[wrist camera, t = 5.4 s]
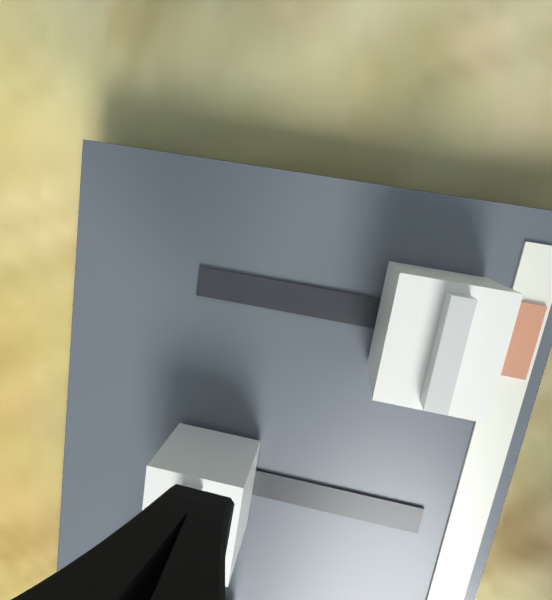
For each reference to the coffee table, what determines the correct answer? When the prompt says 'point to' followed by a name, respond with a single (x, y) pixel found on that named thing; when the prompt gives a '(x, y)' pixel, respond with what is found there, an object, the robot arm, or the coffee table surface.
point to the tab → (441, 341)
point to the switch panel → (290, 367)
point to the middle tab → (207, 474)
